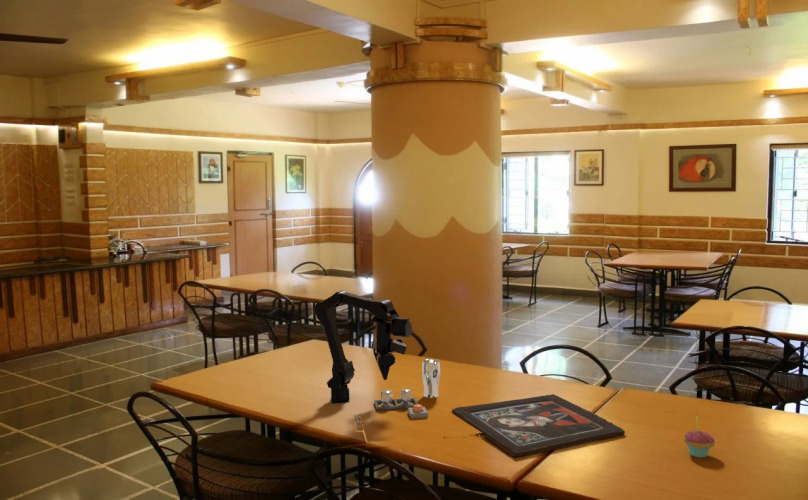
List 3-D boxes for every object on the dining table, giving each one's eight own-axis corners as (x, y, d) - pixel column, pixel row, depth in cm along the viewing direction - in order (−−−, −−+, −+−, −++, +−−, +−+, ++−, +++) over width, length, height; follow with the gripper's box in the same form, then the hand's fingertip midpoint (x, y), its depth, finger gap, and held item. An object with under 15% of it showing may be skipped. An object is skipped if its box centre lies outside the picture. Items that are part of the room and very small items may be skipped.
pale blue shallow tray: (357, 427, 216) (357, 423, 216) (355, 417, 225) (355, 414, 225) (390, 424, 218) (390, 421, 218) (386, 415, 227) (386, 412, 227)
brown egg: (414, 418, 222) (414, 407, 221) (412, 415, 225) (412, 404, 224) (422, 418, 222) (422, 407, 222) (421, 415, 225) (421, 404, 225)
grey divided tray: (376, 414, 228) (376, 407, 228) (374, 407, 236) (374, 400, 236) (418, 411, 231) (418, 405, 230) (414, 404, 238) (414, 397, 238)
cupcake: (677, 449, 196) (679, 411, 195) (704, 448, 197) (705, 410, 196) (692, 461, 187) (694, 421, 186) (720, 459, 188) (721, 420, 187)
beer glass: (438, 402, 240) (438, 363, 239) (420, 401, 242) (420, 363, 240) (441, 396, 247) (441, 359, 246) (423, 395, 249) (423, 358, 247)
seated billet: (401, 408, 231) (401, 392, 231) (399, 404, 235) (399, 389, 235) (412, 407, 232) (412, 391, 232) (410, 404, 236) (410, 388, 235)
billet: (392, 409, 231) (392, 392, 230) (381, 409, 230) (381, 393, 230) (391, 405, 235) (391, 389, 234) (380, 406, 234) (380, 390, 234)
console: (411, 422, 220) (411, 413, 220) (408, 416, 226) (408, 407, 226) (428, 421, 221) (427, 412, 221) (424, 415, 227) (424, 406, 227)
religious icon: (448, 416, 226) (448, 408, 226) (551, 400, 244) (552, 392, 244) (510, 461, 189) (511, 451, 189) (627, 438, 208) (627, 429, 207)
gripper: (409, 339, 224) (409, 382, 225) (401, 328, 242) (401, 368, 244) (378, 340, 222) (378, 384, 224) (372, 329, 240) (372, 369, 242)
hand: (383, 376), depth 233 cm, fingers open, 9 cm apart
